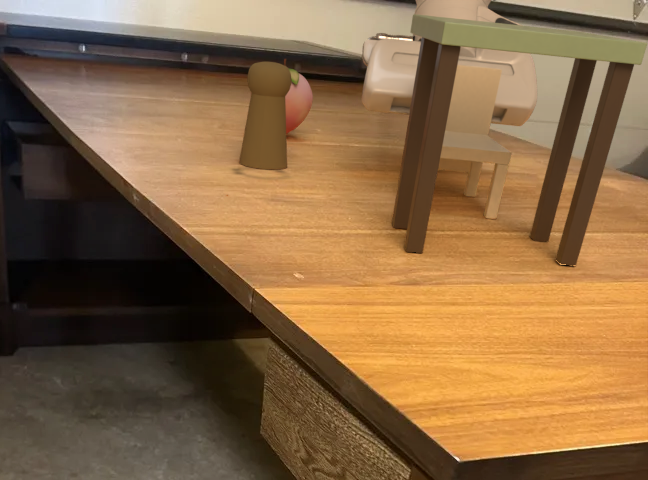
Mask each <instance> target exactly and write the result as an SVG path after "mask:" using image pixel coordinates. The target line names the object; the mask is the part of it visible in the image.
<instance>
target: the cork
mask: <svg viewBox="0 0 648 480" xmlns="http://www.w3.org/2000/svg"><path fill="white" fill-rule="evenodd" d="M289 69H290V68H289V67H287V65H286V66H284V64H282V63H278V62H275V61H257V62H254V63H253V64H251V65H250V67H249V69H248V73H247V87H248V89H249V91H250V97H249V103H248V109H247V114H246V115H247V116H246V119H245V121H246V122H245V126H244V133H243V138H242V143H241V149H240V154H239V159H238V163H239V164H240V165H242V166H245V167H248V168H253V169H260V170H262V169H263V170H284V169H287V168H288V148H287V147H288V144H287V143H288V142H287V134H286V105H285V96H286V95H287V93H288V92H289V90H290V87H291V80H292V79H291V73H290V71H289Z"/></svg>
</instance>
